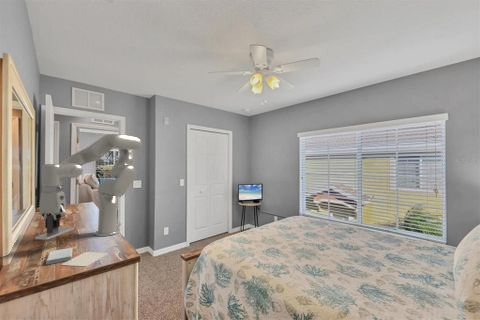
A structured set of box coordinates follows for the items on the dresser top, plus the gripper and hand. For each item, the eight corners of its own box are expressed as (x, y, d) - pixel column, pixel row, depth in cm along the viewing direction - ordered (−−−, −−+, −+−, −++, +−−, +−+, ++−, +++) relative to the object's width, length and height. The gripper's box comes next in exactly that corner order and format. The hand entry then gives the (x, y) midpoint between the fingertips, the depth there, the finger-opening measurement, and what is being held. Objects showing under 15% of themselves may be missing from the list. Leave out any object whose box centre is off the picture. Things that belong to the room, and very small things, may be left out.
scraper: (35, 239, 98) (34, 219, 98) (62, 228, 112) (62, 211, 112) (47, 239, 98) (47, 219, 98) (73, 229, 112) (73, 211, 112)
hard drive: (71, 256, 92) (72, 247, 102) (46, 260, 87) (49, 250, 97) (71, 260, 92) (72, 250, 102) (45, 265, 87) (49, 254, 97)
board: (85, 252, 101) (86, 251, 101) (108, 253, 100) (108, 253, 100) (60, 265, 88) (60, 264, 88) (86, 266, 87) (86, 266, 87)
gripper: (74, 188, 108) (75, 225, 108) (44, 188, 109) (44, 224, 109) (61, 190, 100) (61, 230, 101) (28, 190, 102) (29, 229, 102)
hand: (52, 227), depth 105 cm, fingers closed on scraper, 3 cm apart
